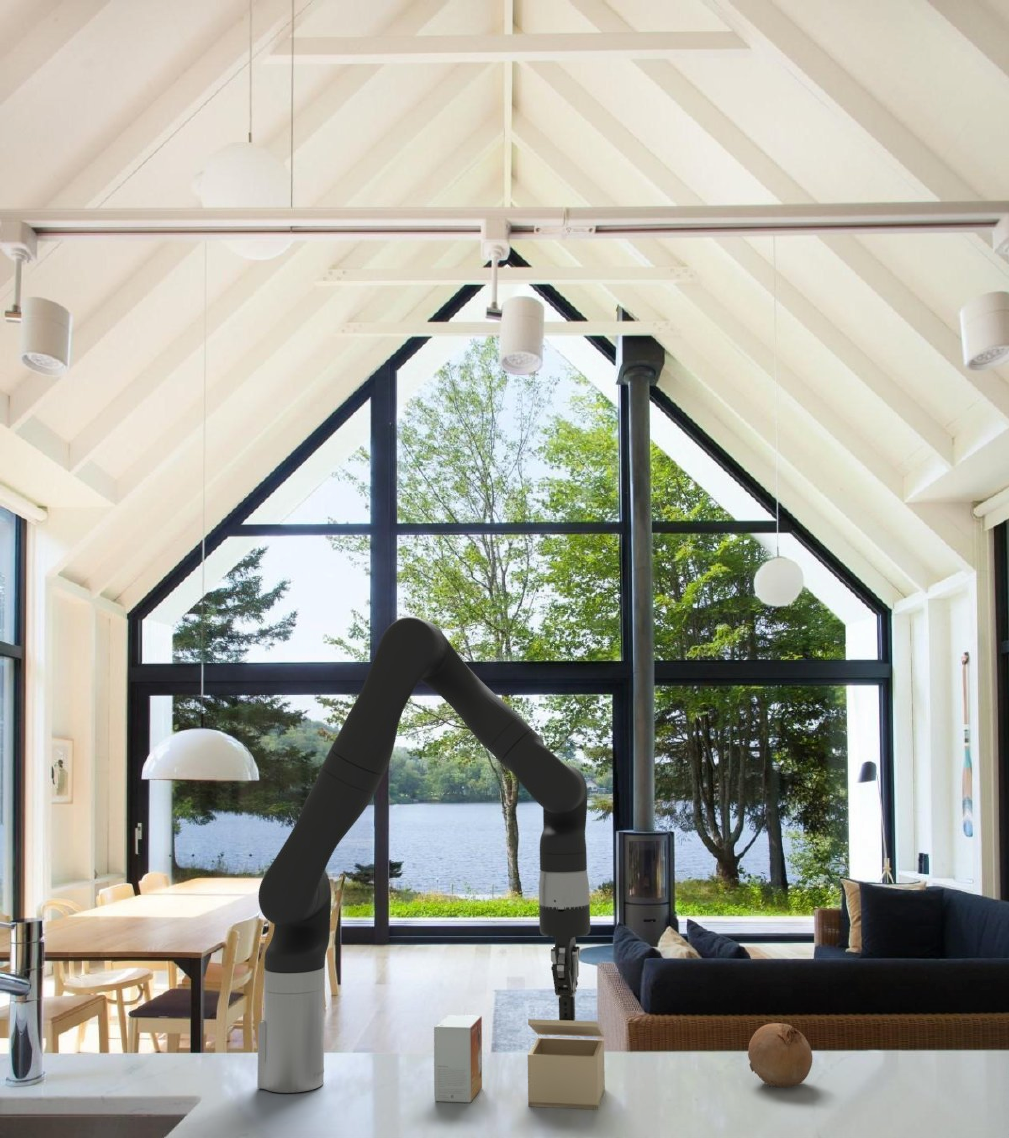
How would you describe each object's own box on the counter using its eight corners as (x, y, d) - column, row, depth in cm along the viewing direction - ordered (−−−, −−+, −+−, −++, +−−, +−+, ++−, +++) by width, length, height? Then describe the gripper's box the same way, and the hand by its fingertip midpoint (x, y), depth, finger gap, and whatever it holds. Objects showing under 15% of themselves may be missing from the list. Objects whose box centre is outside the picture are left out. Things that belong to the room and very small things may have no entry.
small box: (471, 1104, 171) (470, 1027, 173) (433, 1102, 173) (433, 1026, 174) (483, 1088, 179) (482, 1015, 181) (447, 1086, 180) (446, 1013, 182)
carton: (528, 1106, 170) (527, 1055, 171) (538, 1086, 180) (538, 1037, 181) (598, 1109, 168) (597, 1057, 169) (604, 1088, 178) (603, 1039, 179)
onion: (804, 1111, 176) (823, 1055, 174) (741, 1092, 177) (760, 1036, 175) (798, 1070, 185) (817, 1016, 183) (739, 1053, 186) (757, 998, 184)
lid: (528, 1024, 172) (528, 1018, 173) (537, 1034, 181) (538, 1029, 181) (597, 1026, 170) (597, 1021, 171) (603, 1037, 179) (603, 1031, 179)
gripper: (545, 895, 184) (548, 1011, 182) (532, 907, 171) (535, 1033, 169) (594, 895, 183) (597, 1013, 181) (584, 908, 170) (587, 1035, 168)
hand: (567, 1022), depth 175 cm, fingers closed
